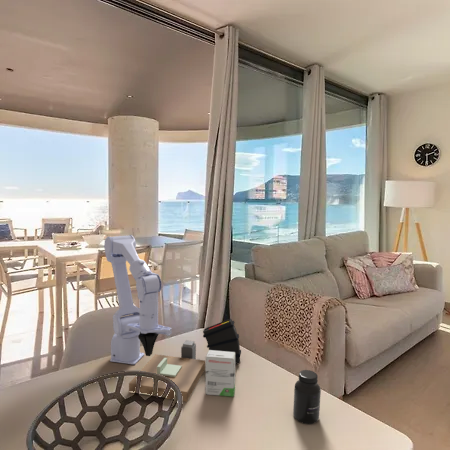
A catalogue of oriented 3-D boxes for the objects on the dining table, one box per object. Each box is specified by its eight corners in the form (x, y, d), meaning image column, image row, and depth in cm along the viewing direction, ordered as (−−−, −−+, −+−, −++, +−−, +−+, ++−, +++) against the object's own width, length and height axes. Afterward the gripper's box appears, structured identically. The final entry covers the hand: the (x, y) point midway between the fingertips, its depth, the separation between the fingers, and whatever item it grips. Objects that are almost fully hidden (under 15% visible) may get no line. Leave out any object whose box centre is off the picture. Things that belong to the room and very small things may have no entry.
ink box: (235, 388, 107) (236, 351, 105) (233, 397, 102) (234, 358, 101) (207, 385, 108) (208, 348, 107) (204, 394, 103) (205, 356, 102)
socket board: (128, 393, 103) (128, 383, 103) (155, 362, 121) (155, 354, 121) (187, 401, 99) (187, 391, 99) (205, 369, 118) (205, 360, 117)
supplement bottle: (314, 428, 89) (316, 384, 88) (289, 419, 93) (291, 376, 91) (322, 414, 95) (324, 372, 94) (298, 405, 98) (300, 365, 97)
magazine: (248, 360, 121) (230, 321, 120) (214, 373, 123) (197, 334, 123) (249, 355, 124) (232, 317, 124) (216, 367, 127) (199, 330, 126)
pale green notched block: (156, 374, 108) (156, 366, 107) (164, 365, 113) (164, 357, 113) (175, 377, 106) (175, 369, 106) (181, 367, 112) (181, 359, 112)
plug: (181, 363, 121) (181, 344, 120) (184, 358, 125) (185, 339, 124) (192, 365, 120) (192, 345, 119) (195, 359, 124) (195, 340, 123)
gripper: (121, 315, 107) (121, 357, 109) (165, 319, 104) (165, 363, 105) (132, 307, 114) (132, 347, 115) (174, 311, 111) (173, 352, 112)
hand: (149, 354), depth 111 cm, fingers closed
